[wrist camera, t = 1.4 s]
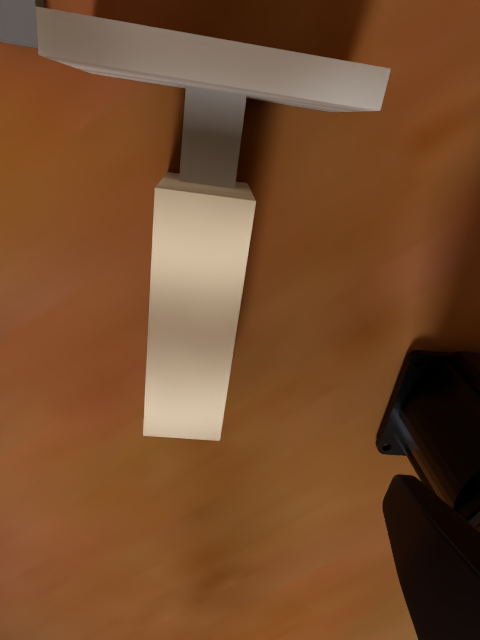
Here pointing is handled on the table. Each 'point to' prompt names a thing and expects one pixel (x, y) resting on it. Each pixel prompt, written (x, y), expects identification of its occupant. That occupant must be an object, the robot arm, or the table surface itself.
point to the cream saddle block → (202, 189)
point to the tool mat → (19, 22)
